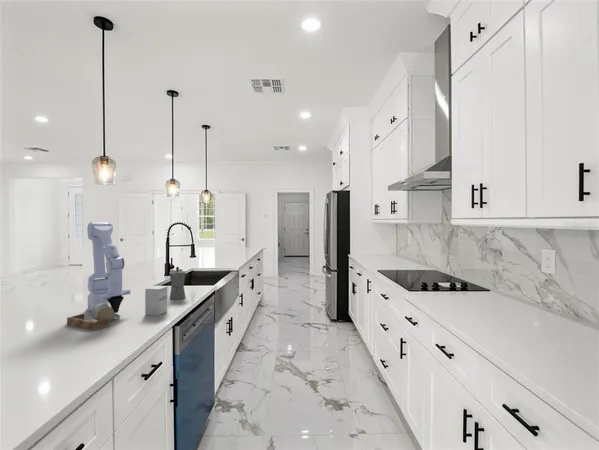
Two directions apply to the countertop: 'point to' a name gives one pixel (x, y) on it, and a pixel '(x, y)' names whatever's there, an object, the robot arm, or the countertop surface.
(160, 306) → the supplement box
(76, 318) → the rail
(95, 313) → the ceramic mug
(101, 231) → the robot arm
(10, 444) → the countertop surface
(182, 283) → the coffeepot
